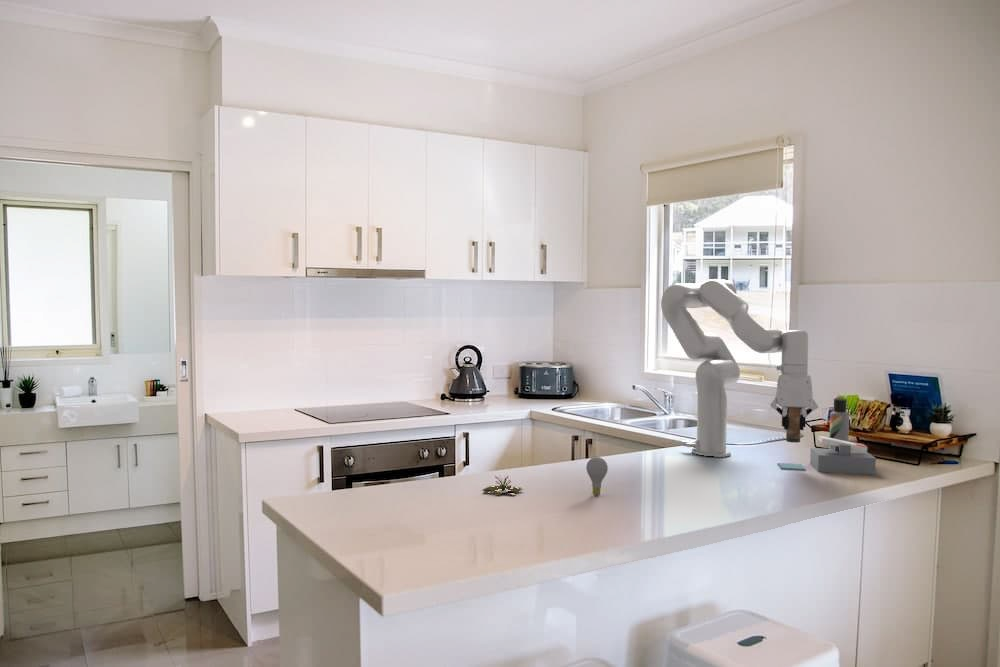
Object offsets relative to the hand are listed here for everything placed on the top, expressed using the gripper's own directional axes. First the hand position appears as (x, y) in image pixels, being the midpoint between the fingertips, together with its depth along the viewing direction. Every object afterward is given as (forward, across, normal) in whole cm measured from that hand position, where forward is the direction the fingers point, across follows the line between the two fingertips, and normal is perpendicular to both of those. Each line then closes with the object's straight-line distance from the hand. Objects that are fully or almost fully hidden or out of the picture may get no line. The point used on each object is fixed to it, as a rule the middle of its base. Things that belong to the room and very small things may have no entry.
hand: (793, 428), depth 232 cm
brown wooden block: (+4, 0, 0) cm, 4 cm away
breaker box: (+12, +15, +2) cm, 19 cm away
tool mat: (+12, 0, 0) cm, 12 cm away
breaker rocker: (+4, +15, +2) cm, 16 cm away
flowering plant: (+12, -81, -53) cm, 97 cm away
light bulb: (+12, -56, -51) cm, 77 cm away
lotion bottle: (+12, +18, +20) cm, 30 cm away
